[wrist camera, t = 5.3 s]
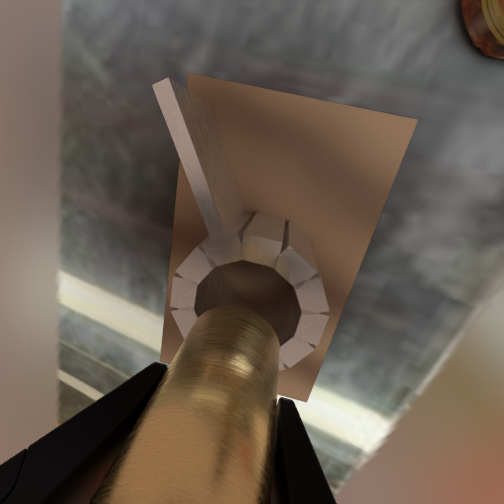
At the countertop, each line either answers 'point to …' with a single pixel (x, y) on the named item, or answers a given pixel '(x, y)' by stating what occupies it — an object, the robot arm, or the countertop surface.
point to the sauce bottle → (485, 25)
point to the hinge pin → (205, 420)
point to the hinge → (237, 237)
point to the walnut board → (294, 195)
